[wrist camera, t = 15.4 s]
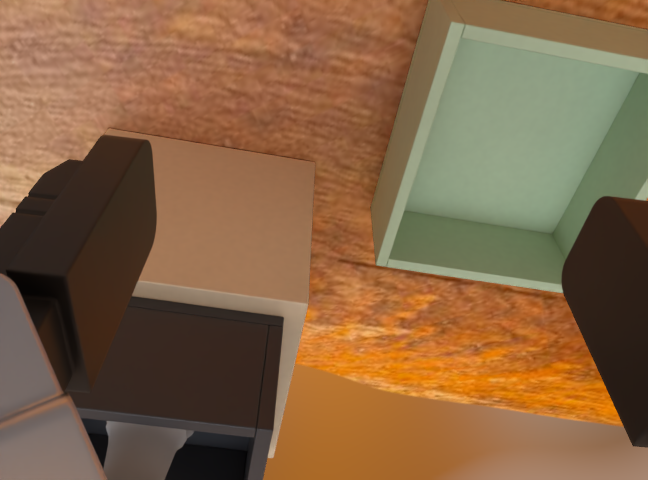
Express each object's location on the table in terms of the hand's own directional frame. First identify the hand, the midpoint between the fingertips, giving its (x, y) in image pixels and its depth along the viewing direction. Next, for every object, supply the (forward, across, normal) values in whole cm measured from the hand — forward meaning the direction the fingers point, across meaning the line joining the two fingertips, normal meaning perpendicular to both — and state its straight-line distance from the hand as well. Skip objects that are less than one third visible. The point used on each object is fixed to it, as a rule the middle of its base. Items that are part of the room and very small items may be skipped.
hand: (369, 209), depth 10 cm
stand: (+20, +7, +17) cm, 27 cm away
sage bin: (+21, -10, +8) cm, 24 cm away
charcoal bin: (+8, +7, +17) cm, 20 cm away
